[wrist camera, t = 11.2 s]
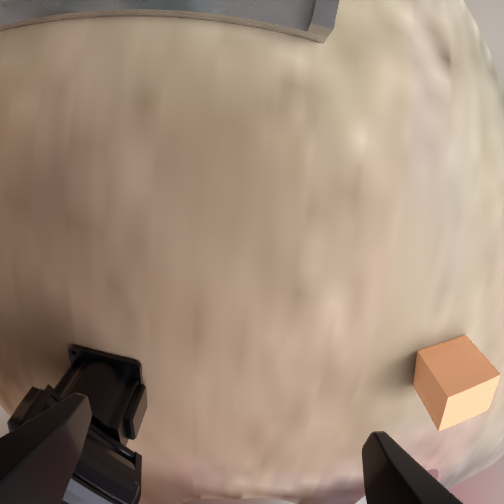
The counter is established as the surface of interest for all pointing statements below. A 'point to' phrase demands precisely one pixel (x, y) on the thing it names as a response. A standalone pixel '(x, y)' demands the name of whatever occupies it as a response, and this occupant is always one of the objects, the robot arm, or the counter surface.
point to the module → (454, 381)
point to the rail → (185, 12)
